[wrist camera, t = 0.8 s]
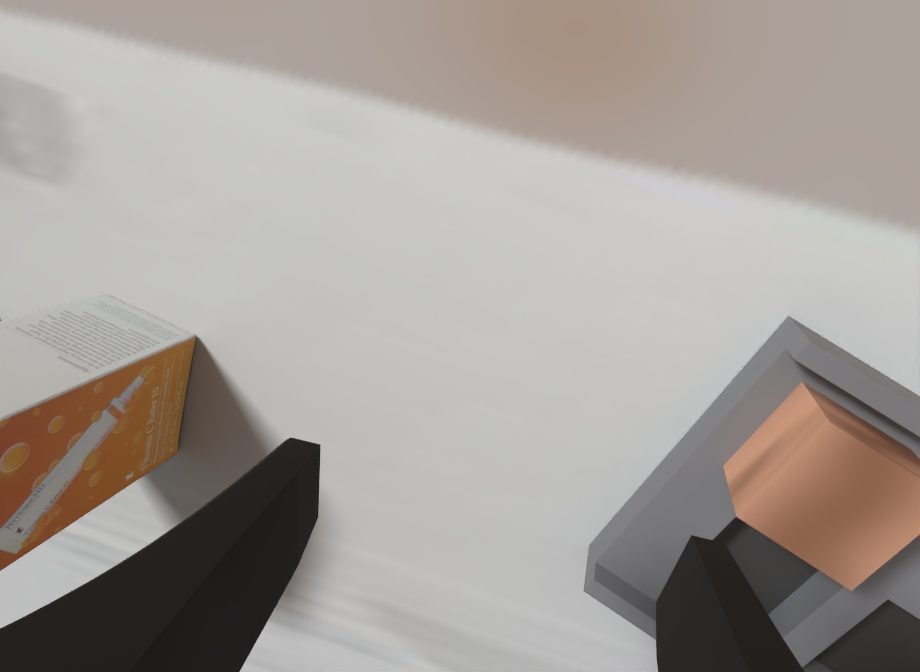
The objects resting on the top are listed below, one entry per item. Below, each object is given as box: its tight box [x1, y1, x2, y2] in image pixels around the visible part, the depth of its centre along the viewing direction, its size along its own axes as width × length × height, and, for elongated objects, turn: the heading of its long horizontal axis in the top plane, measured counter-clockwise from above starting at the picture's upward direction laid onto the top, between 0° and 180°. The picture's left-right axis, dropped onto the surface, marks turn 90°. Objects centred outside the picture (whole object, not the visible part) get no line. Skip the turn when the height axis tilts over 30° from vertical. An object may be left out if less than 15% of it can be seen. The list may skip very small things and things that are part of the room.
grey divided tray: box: [584, 316, 920, 672], centre depth 24 cm, size 21×14×3 cm, turn 61°
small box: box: [0, 293, 196, 571], centre depth 28 cm, size 8×6×13 cm
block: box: [723, 382, 920, 591], centre depth 21 cm, size 4×4×4 cm
